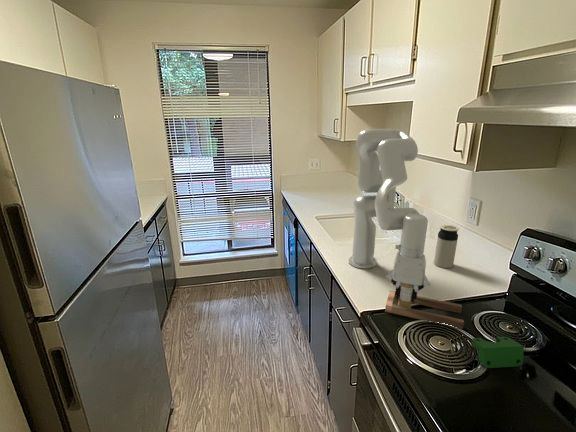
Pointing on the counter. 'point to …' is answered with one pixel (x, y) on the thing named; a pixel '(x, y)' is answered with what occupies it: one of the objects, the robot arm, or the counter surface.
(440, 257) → the travel mug
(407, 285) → the sprinkles bottle
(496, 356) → the green toy brick
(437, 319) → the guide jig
